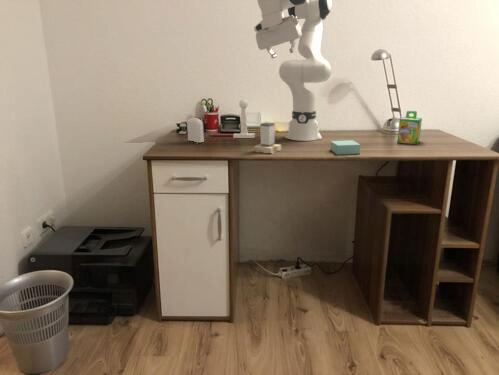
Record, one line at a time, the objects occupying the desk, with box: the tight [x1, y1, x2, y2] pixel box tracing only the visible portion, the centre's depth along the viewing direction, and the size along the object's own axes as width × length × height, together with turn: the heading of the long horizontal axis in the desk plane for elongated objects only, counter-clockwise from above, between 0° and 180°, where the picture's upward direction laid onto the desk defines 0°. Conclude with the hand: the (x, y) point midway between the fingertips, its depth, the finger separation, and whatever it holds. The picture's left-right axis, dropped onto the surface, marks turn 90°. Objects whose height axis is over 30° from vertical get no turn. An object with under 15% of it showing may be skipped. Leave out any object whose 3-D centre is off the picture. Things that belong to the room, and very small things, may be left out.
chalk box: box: [396, 110, 423, 145], centre depth 204 cm, size 9×9×15 cm
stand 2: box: [330, 139, 361, 155], centre depth 188 cm, size 10×10×4 cm
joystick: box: [233, 99, 256, 139], centre depth 222 cm, size 11×8×20 cm
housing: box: [260, 122, 275, 147], centre depth 191 cm, size 4×4×10 cm
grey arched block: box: [186, 117, 205, 142], centre depth 214 cm, size 10×4×12 cm, turn 39°
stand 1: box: [253, 143, 282, 154], centre depth 193 cm, size 9×9×2 cm
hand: (283, 55), depth 177 cm, fingers open, 8 cm apart
